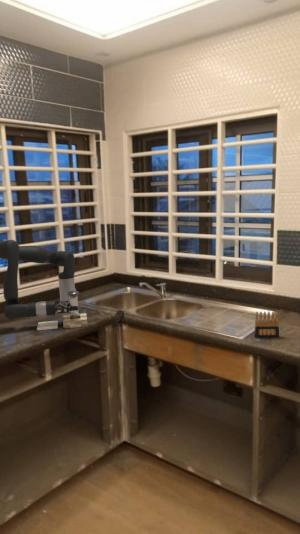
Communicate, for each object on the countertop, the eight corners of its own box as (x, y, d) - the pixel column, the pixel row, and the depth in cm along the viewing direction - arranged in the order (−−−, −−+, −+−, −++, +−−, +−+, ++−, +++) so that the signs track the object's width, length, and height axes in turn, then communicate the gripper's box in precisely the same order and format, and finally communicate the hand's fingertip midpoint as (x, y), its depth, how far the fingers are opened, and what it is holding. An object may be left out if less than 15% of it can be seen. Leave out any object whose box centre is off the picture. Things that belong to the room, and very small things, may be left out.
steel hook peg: (75, 321, 218) (73, 290, 215) (83, 322, 215) (81, 291, 212) (67, 324, 213) (64, 293, 210) (75, 326, 210) (73, 294, 207)
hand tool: (117, 317, 224) (116, 308, 223) (124, 317, 223) (123, 308, 222) (107, 328, 206) (107, 319, 205) (115, 328, 205) (114, 319, 204)
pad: (38, 324, 216) (38, 322, 215) (58, 322, 217) (57, 320, 217) (37, 330, 206) (36, 328, 206) (57, 328, 208) (57, 326, 208)
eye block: (63, 321, 219) (63, 315, 218) (86, 319, 221) (86, 313, 220) (63, 328, 207) (63, 321, 207) (87, 326, 210) (87, 319, 209)
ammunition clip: (254, 337, 185) (255, 312, 183) (254, 336, 186) (254, 310, 184) (279, 337, 184) (279, 311, 182) (278, 336, 186) (278, 310, 183)
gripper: (44, 305, 202) (77, 302, 205) (45, 298, 216) (77, 295, 219) (45, 319, 204) (78, 316, 207) (47, 311, 217) (78, 309, 220)
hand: (77, 305), depth 213 cm, fingers open, 8 cm apart
